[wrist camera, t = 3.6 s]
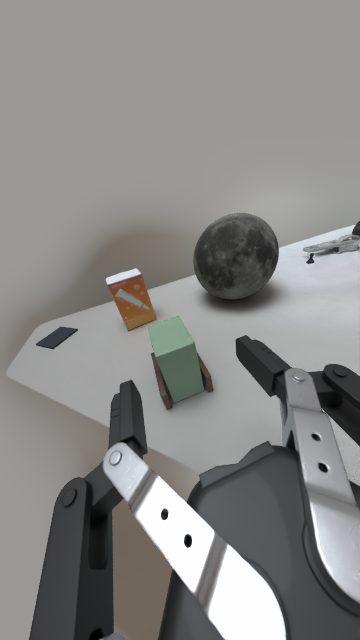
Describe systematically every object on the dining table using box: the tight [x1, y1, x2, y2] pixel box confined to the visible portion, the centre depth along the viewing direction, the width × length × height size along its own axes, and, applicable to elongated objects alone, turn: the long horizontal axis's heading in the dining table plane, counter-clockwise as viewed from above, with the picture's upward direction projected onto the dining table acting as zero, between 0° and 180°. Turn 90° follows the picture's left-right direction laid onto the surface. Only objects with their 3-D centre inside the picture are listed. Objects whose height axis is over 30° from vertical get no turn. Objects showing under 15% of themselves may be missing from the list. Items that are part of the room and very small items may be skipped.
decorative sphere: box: [193, 213, 279, 299], centre depth 43 cm, size 20×20×20 cm
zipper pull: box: [303, 235, 360, 254], centre depth 59 cm, size 8×18×4 cm, turn 96°
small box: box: [106, 269, 156, 330], centre depth 44 cm, size 8×6×13 cm
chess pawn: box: [306, 253, 314, 263], centre depth 55 cm, size 2×2×3 cm
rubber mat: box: [36, 327, 78, 349], centre depth 49 cm, size 8×8×1 cm
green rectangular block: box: [148, 316, 204, 403], centre depth 26 cm, size 7×5×10 cm
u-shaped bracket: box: [151, 353, 213, 410], centre depth 28 cm, size 9×7×4 cm
